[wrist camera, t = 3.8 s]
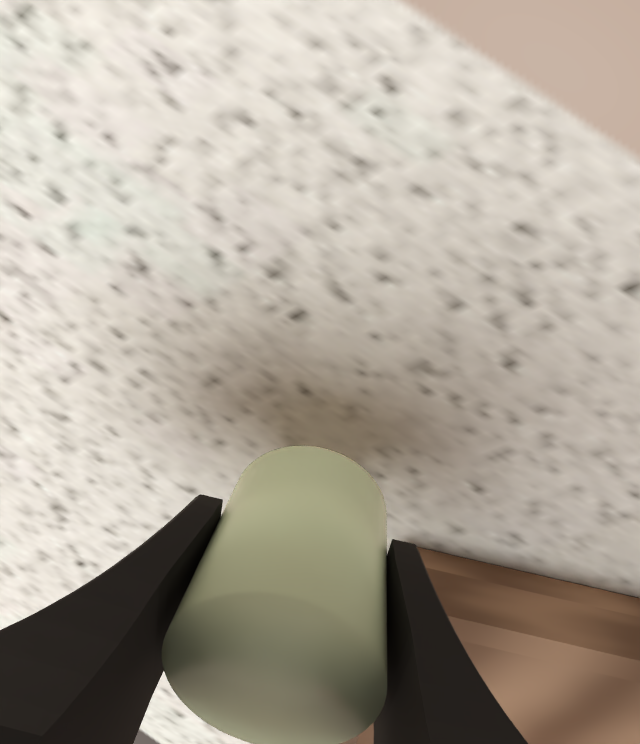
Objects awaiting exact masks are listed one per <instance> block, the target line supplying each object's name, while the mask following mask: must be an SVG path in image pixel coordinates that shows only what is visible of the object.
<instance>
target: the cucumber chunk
mask: <svg viewBox="0 0 640 744" xmlns="http://www.w3.org/2000/svg"><path fill="white" fill-rule="evenodd" d="M162 663H163V668H164V672H165V674H166V677H167V679H168V681H169V683H170V685H171V687H172V689H173V690H174V692H175V693H176V694H177V696H178V697H179V698H180V700H181V701H182V702H183V703H184V704H185V705H186V706H187V707H188V708H189V709H190V710H191V711H192V712H193V713H195V714H196V715H197V716H198V717H200V718H201V719H202V720H204V721H205V722H207V723H208V724H210V725H211V726H213V727H215V728H217V729H218V730H220V731H222V732H224V733H226V734H228V735H230V736H233V737H235V738H238V739H241V740H243V741H246V742H250V743H253V744H339V743H342V742H345V741H347V740H349V739H352V738H354V737H356V736H357V735H359V734H360V733H362V732H363V731H365V730H366V729H367V728H368V727H369V726H370V725H371V724H372V723H373V722H374V721H375V720H376V718H377V717H378V716H379V714H380V712H381V710H382V708H383V706H384V704H385V700H386V696H387V513H386V505H385V501H384V497H383V495H382V493H381V490H380V488H379V487H378V485H377V484H376V482H375V480H374V479H373V478H372V477H371V476H370V474H369V473H368V472H367V471H366V470H365V469H363V468H362V467H361V466H360V465H359V464H357V463H356V462H354V461H353V460H351V459H350V458H348V457H346V456H344V455H342V454H340V453H337V452H335V451H332V450H329V449H325V448H321V447H315V446H303V445H301V446H289V447H283V448H279V449H276V450H273V451H270V452H268V453H266V454H264V455H262V456H260V457H259V458H257V459H256V460H255V461H253V462H252V463H251V464H250V465H249V466H248V467H247V468H246V469H245V471H244V472H243V473H242V475H241V476H240V478H239V480H238V482H237V484H236V486H235V488H234V490H233V493H232V495H231V497H230V499H229V501H228V503H227V505H226V507H225V510H224V512H223V514H222V516H221V518H220V520H219V522H218V524H217V526H216V529H215V531H214V533H213V535H212V537H211V539H210V541H209V543H208V545H207V548H206V550H205V552H204V554H203V556H202V558H201V560H200V562H199V564H198V567H197V569H196V571H195V573H194V575H193V577H192V579H191V581H190V584H189V586H188V588H187V590H186V592H185V594H184V596H183V598H182V600H181V603H180V605H179V607H178V609H177V611H176V613H175V615H174V617H173V619H172V622H171V624H170V626H169V628H168V630H167V632H166V635H165V638H164V640H163V646H162Z"/></svg>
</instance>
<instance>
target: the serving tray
mask: <svg viewBox="0 0 640 744" xmlns="http://www.w3.org/2000/svg"><path fill="white" fill-rule="evenodd" d="M417 548H418V550H419V552H420V555H421V557H422V560H423V563H424V565H425V568H426V570H427V572H428V575H429V577H430V579H431V582H432V584H433V586H434V589H435V591H436V593H437V595H438V597H439V600H440V602H441V604H442V606H443V608H444V610H445V612H446V614H447V616H448V618H449V620H450V622H451V624H452V626H453V628H454V630H455V632H456V634H457V636H458V637H459V639H460V641H461V643H462V645H463V646H464V648H465V650H466V652H467V654H468V655H469V657H470V659H471V660H472V662H473V664H474V666H475V667H476V669H477V671H478V672H479V674H480V675H481V677H482V679H483V680H484V682H485V683H486V685H487V686H488V688H489V690H490V691H491V693H492V694H493V696H494V697H495V699H496V700H497V702H498V703H499V704H500V706H501V707H502V709H503V710H504V712H505V713H506V715H507V716H508V717H509V719H510V720H511V721H512V723H513V724H514V725H515V727H516V728H517V729H518V731H519V732H520V733H521V735H522V736H523V737H524V739H525V740H526V741H527V743H528V744H640V598H636V597H631V596H627V595H623V594H618V593H614V592H610V591H605V590H601V589H597V588H592V587H588V586H583V585H579V584H575V583H570V582H566V581H562V580H557V579H553V578H549V577H544V576H540V575H536V574H531V573H527V572H523V571H518V570H514V569H510V568H505V567H501V566H497V565H492V564H488V563H484V562H479V561H475V560H471V559H466V558H462V557H458V556H453V555H449V554H445V553H440V552H436V551H432V550H427V549H423V548H419V547H417ZM339 744H374V722H373V723H372V724H371V725H370V726H369V727H368V728H367V729H366V730H365V731H363V732H362V733H360V734H359V735H357V736H356V737H354V738H352V739H349V740H347V741H345V742H342V743H339Z"/></svg>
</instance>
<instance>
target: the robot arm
mask: <svg viewBox="0 0 640 744" xmlns="http://www.w3.org/2000/svg"><path fill="white" fill-rule="evenodd" d="M222 502H223V500H222V499H218V498H213V497H209V496H205V495H199V496H197V497H196V498H195V499H194V500H193V501H191V502H190V503H189V504H188V505H187V506H186V507H185V508H184V509H183V510H182V511H181V512H180V513H179V514H177V515H176V516H175V517H174V518H173V519H172V520H171V521H170V522H168V523H167V524H166V525H165V526H164V527H163V528H161V529H160V530H159V531H158V532H157V533H155V534H154V535H153V536H152V537H150V538H149V539H148V540H147V541H146V542H144V543H143V544H142V545H141V546H139V547H138V548H137V549H135V550H134V551H133V552H131V553H130V554H129V555H127V556H126V557H125V558H123V559H122V560H120V561H119V562H118V563H116V564H115V565H114V566H112V567H111V568H109V569H108V570H106V571H105V572H104V573H102V574H101V575H99V576H98V577H96V578H95V579H93V580H91V581H90V582H88V583H87V584H85V585H83V586H82V587H80V588H79V589H77V590H75V591H74V592H72V593H70V594H69V595H67V596H65V597H63V598H62V599H60V600H58V601H56V602H55V603H53V604H51V605H49V606H48V607H46V608H44V609H42V610H40V611H38V612H37V613H35V614H33V615H31V616H29V617H27V618H25V619H23V620H21V621H19V622H16V623H14V624H12V625H10V626H8V627H6V628H4V629H2V630H0V744H133V743H134V740H135V737H136V735H137V732H138V730H139V727H140V725H141V722H142V720H143V717H144V715H145V712H146V710H147V707H148V705H149V702H150V700H151V697H152V695H153V693H154V690H155V688H156V686H157V684H158V682H159V680H160V677H161V675H162V673H163V671H164V668H163V663H162V646H163V640H164V638H165V635H166V632H167V630H168V628H169V626H170V624H171V622H172V619H173V617H174V615H175V613H176V611H177V609H178V607H179V605H180V603H181V600H182V598H183V596H184V594H185V592H186V590H187V588H188V586H189V584H190V581H191V579H192V577H193V575H194V573H195V571H196V569H197V567H198V564H199V562H200V560H201V558H202V556H203V554H204V552H205V550H206V548H207V545H208V543H209V541H210V539H211V537H212V535H213V533H214V531H215V529H216V526H217V524H218V522H219V520H220V518H221V510H222ZM374 744H528V743H527V741H526V740H525V739H524V737H523V736H522V735H521V733H520V732H519V731H518V729H517V728H516V727H515V725H514V724H513V723H512V721H511V720H510V719H509V717H508V716H507V715H506V713H505V712H504V710H503V709H502V707H501V706H500V704H499V703H498V702H497V700H496V699H495V697H494V696H493V694H492V693H491V691H490V690H489V688H488V686H487V685H486V683H485V682H484V680H483V679H482V677H481V675H480V674H479V672H478V671H477V669H476V667H475V666H474V664H473V662H472V660H471V659H470V657H469V655H468V654H467V652H466V650H465V648H464V646H463V645H462V643H461V641H460V639H459V637H458V636H457V634H456V632H455V630H454V628H453V626H452V624H451V622H450V620H449V618H448V616H447V614H446V612H445V610H444V608H443V606H442V604H441V602H440V600H439V597H438V595H437V593H436V591H435V589H434V586H433V584H432V582H431V579H430V577H429V575H428V572H427V570H426V568H425V565H424V563H423V560H422V557H421V555H420V552H419V550H418V548H417V546H416V545H415V544H411V543H406V542H402V541H398V540H394V539H392V542H391V545H390V548H389V551H388V554H387V696H386V700H385V704H384V706H383V708H382V710H381V712H380V714H379V716H378V717H377V718H376V720H375V721H374Z"/></svg>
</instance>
